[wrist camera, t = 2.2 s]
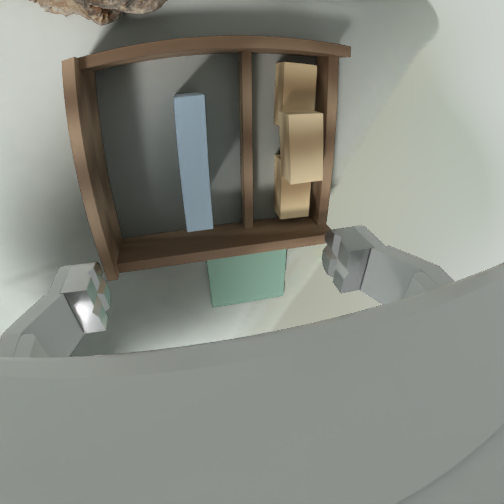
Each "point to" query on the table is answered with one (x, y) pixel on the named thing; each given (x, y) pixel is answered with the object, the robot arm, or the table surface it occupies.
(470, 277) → the robot arm
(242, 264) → the pad
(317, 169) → the offcut top
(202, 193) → the sheet
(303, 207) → the offcut
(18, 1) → the table surface
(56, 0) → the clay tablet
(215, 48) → the rack
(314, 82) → the offcut
